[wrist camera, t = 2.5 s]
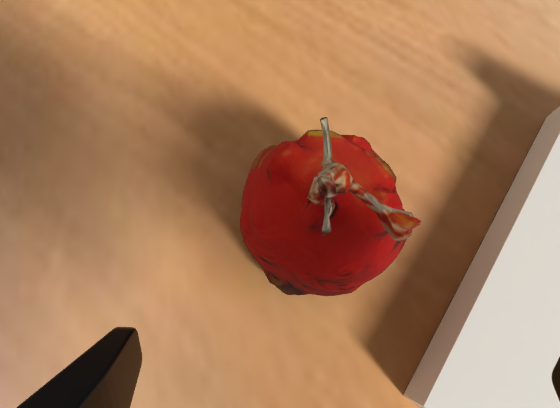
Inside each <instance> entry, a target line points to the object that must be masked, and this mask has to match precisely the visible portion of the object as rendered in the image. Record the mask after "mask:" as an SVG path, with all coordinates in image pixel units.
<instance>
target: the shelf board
mask: <svg viewBox="0 0 560 408" xmlns="http://www.w3.org/2000/svg"><path fill="white" fill-rule="evenodd" d="M559 357H560V106H559V107H558V108H557V109H555V110H554V111H553V112H552V113H551V114H549V115H548V116H547V117H546V119H545V121H544V123H543V125H542V127H541V129H540V131H539V133H538V134H537V136H536V138H535V140H534V142H533V144H532V146H531V148H530V150H529V152H528V154H527V156H526V158H525V160H524V162H523V164H522V166H521V167H520V169H519V171H518V173H517V175H516V177H515V179H514V181H513V183H512V185H511V187H510V189H509V191H508V193H507V195H506V197H505V199H504V200H503V202H502V204H501V206H500V208H499V210H498V212H497V214H496V216H495V218H494V220H493V222H492V224H491V226H490V228H489V230H488V232H487V233H486V235H485V237H484V239H483V241H482V243H481V245H480V247H479V249H478V251H477V253H476V255H475V257H474V259H473V261H472V263H471V264H470V266H469V268H468V270H467V272H466V274H465V276H464V278H463V280H462V282H461V284H460V286H459V288H458V290H457V292H456V294H455V296H454V297H453V299H452V301H451V303H450V305H449V307H448V309H447V311H446V313H445V315H444V317H443V319H442V321H441V323H440V325H439V327H438V329H437V330H436V332H435V334H434V336H433V338H432V340H431V342H430V344H429V346H428V348H427V350H426V352H425V354H424V356H423V358H422V360H421V361H420V363H419V365H418V367H417V369H416V371H415V373H414V375H413V377H412V379H411V381H410V383H409V385H408V387H407V389H406V391H405V393H404V394H403V396H405V397H406V398H408V399H409V400H411V401H412V402H414V403H415V404H417V405H418V406H420V407H421V408H560V401H559V399H558V396H557V394H556V391H555V389H554V386H553V383H552V371H553V369H554V367H555V365H556V363H557V361H558V359H559Z"/></svg>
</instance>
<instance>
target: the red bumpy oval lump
mask: <svg viewBox="0 0 560 408" xmlns="http://www.w3.org/2000/svg"><path fill="white" fill-rule="evenodd" d="M320 122H321V126H322V130H310V131H307V132H306V133H305V134H304V135H303V136H302V137H301V138H300V139H299V140H297V141H293V142H288V141H285V142H282V143H280V144H279V145H278V146H270V147H268V148H266V149H264V150H263V151H262V152H261V153H260V154H259V155H258V156H257V158H256V159H255V161H254V163H253V165H252V168H251V170H250V173H249V175H248V178H247V181H246V184H245V187H244V192H243V199H242V212H241V218H240V228H241V233H242V236H243V239H244V242H245V244H246V245H247V247H248V249H249V251H250V252H251V254H252V255H253V257H254V258H255V259H256V260H257V261H258V262H259V263H260V264H261V266H262V268H263V270H264V272H265V274H266V276H267V278H268V280H269V282H270V283H272V284H274V285H275V286H276V287H277V288H278V289H280V290H281V291H282V292H283V293H285V294H288V295H294V294H295V295H305V294H315V295H323V296H334V295H341V294H347V293H351V292H353V291H355V290H356V289H357V288H359V287H360V286H361V285H362V284H364V283H365V282H367V281H369V280H371V279H373V278H375V277H376V276H378V275H379V274H381V273H382V272H383V271H384V270H385V269H386V268H387V267H388V266H389V265H390V264H391V263H392V262H393V261H394V259H395V258H396V257H397V256H398V254H399V253H400V251H401V250H402V248H403V246H404V244H405V241H406V239H407V238H408V237H409V236H411V233H412V229H413V228H415V227H417V226H418V225H419V224H420V223H421V221H420V220H419V219H417V218H414V217H413V214H412V213H411V212H407V211H404V209H403V208H402V202H401V200H400V198H399V196H398V194H397V191H396V187H395V183H396V176H395V174H394V173H393V171H392V169H391V168H390V166H389V165H388V164H387V163H386V162H385V161H383V160H382V159H381V158H380V157H379V156H378V155H377V154H376V153H375V152H374V151H373V150H372V148H371V145H370V143H369V142H368V141H367V140H365V139H364V138H363V137H357V136H355V135H339V134H337V133H335V132H333V131H329V126H328V120H327V117H324V118H321V119H320Z"/></svg>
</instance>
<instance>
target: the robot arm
mask: <svg viewBox="0 0 560 408" xmlns="http://www.w3.org/2000/svg"><path fill="white" fill-rule="evenodd" d="M141 364H142V352H141V347H140V342H139V337H138V332H137V330H136V329H135V328H133V327H116V328H114V329H113V330H112V331H110V332H109V333H108V334H107V335H105V336H104V337H103V338H102V339H101V340H99V341H98V342H97V343H96V344H94V345H93V346H92V347H91V348H89V349H88V350H87V351H86V352H84V353H83V354H82V355H81V356H80V357H78V358H77V359H76V360H75V361H73V362H72V363H71V364H70V365H68V366H67V367H66V368H65V369H63V370H62V371H61V372H60V373H59V374H57V375H56V376H55V377H54V378H52V379H51V380H50V381H49V382H47V383H46V384H45V385H44V386H43V387H41V388H40V389H39V390H38V391H36V392H35V393H34V394H33V395H31V396H30V397H29V398H28V399H26V400H25V401H24V402H23V403H22V404H20V405H19V406H18V407H17V408H130V405H131V401H132V398H133V394H134V390H135V387H136V383H137V379H138V376H139V372H140V368H141ZM552 383H553V386H554V389H555V391H556V394H557V396H558V399H559V401H560V357H559V359H558V361H557V363H556V365H555V367H554V369H553V371H552Z"/></svg>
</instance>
